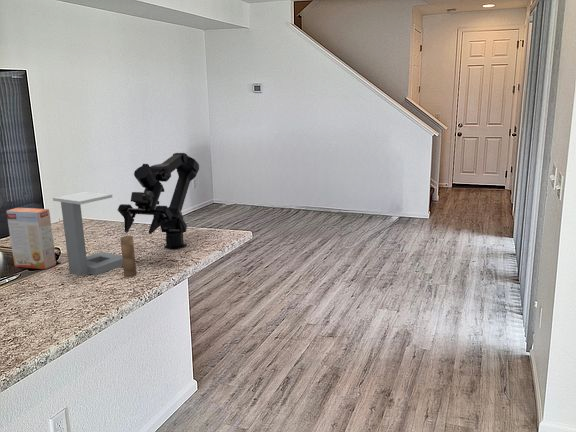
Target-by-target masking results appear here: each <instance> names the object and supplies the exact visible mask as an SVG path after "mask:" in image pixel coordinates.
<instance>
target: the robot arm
mask: <svg viewBox="0 0 576 432" xmlns="http://www.w3.org/2000/svg"><path fill="white" fill-rule="evenodd" d="M175 170H176V172H177V175H178V178H177V182H176V185H175V188H174V192H173V194H172V197H171V199H170V204H169V206H168V205H160V196H161V193H164V192H165V188H164V185H163V184H162V183H163V182H165V183H166V182H168V181H169V180H170V179H171V177H172V173H173V172H175ZM199 170H200V164H199V162H197V160H196V159H195V158H193V157H191V156H189V155H188V154H187V153H185V152H174V153H173V154H172V155H171V156H170V157H168V158H167V159H166V160H164V161H163V162H161V163H159V164H158V163H157V164H153V165H150V164H149V163H142V165H141V166H139V167H138V168H136V170H134V171H133V176H134V178H135V179H136V180H137V182H138V183H139V184H140V186H141V187H142V188H144V191H143V192H142V191H139V192H138V191H131V196H130V202H133V203H134V205H135V207H137V208H134V207H133V206H132V204H128V203H127V204H126V203H125V204H124V203H121V204H119V205H118V207H117V212H118V213H119V214H120V215H121V216H122V217H123V219H124V232H125V234H127V233H128V232H129V231H130V229H131V227H132V225H133V223H134V222H135V218H136V216H137V215H145V216H147V215H148V216H152V217H153V218H152V221H151V223H150V226H149V230H148V234H149V235H152V234H153V233H154V232H155V231H156V230H157V229H158V228H159V227H160V230H161V233H165V245H164V246H163V248H167V249H172V250H177V249H181V248H184V247H187V243H185V242H184V233H187V231H188V230H187V228H188V225H187V223H186V222H185V220H184V215H183V213H182V210H183V206H184V203H185V200H186V196H187V194H188V190H189V188H190V183H191V181H192V180H194V179H196V177H197V174H198V172H199ZM161 182H162V183H161Z"/></svg>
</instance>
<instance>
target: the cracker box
mask: <svg viewBox="0 0 576 432" xmlns="http://www.w3.org/2000/svg"><path fill="white" fill-rule="evenodd" d="M50 214H51V213H50V209H49V208H34V207H14V208H11V209H7V210H6V219H7V225H8V232H9V238H10V239H9V240H10V245H11V251H12V258H13V264H14V265H13V266H14V267H16V268H26V269H34V270H35V269H37V270H47V269H50V268H51V267H54V266H56V265H57V262H56V261H57V260H56V254H55V253H56V252H55V243H54V237H53V230H52V229H53V228H52V222H51V221H52V220H51V215H50Z"/></svg>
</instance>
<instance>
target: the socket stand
mask: <svg viewBox="0 0 576 432" xmlns="http://www.w3.org/2000/svg"><path fill="white" fill-rule="evenodd" d="M111 198H113V194H110V193H102V192H95V191H82V192H75V193H71V194H70V193H69V194H66V195H61V196H55V197H52V201H53V202H59V203H60V205H61V207H60V208H61V215H62V222H63V230H64V237H65V238H64V239H65V246H66V247H65V248H66V254H67V261H68V262H67V263H68V271H69V274H70V275H71V274H72V275H75V276H79V277H82V276H85V275H87V274H89V275H93V276H98V275H101V274H103V273H106V272H109V271H111V270H115V269H117V268H120V267H123V259H122V254H121V255H120V254H115V253H111V252H106V251H99V252H97V253H93V254H90V255H87V252H86V251H87V249H86V243H85V235H84V234H85V232H84V226H83V225H84V224H83V217H82V207H81V205H84V204H88V203H94V202H98V201H103V200H107V199H111Z"/></svg>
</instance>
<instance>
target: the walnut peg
mask: <svg viewBox="0 0 576 432" xmlns="http://www.w3.org/2000/svg"><path fill="white" fill-rule="evenodd" d="M119 240H120V247H121V256H122V259H123V266H122V268H123V276H124V277H127V278H130V277H135V276H136V275H137V267H136V266H137V264H136V256H135V245H134V244H135V243H134V237H133V236H132V235H126V236H121V237H120V239H119Z"/></svg>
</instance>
